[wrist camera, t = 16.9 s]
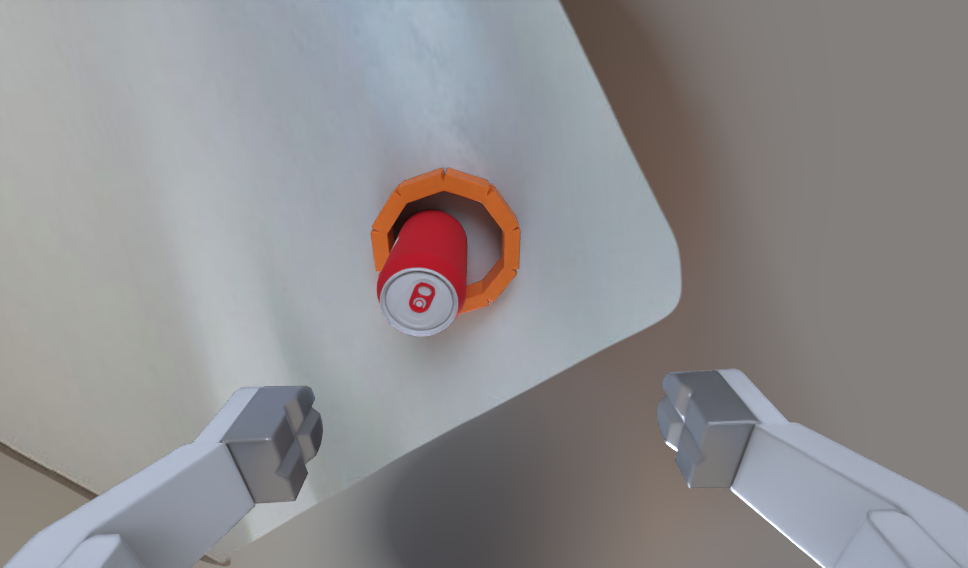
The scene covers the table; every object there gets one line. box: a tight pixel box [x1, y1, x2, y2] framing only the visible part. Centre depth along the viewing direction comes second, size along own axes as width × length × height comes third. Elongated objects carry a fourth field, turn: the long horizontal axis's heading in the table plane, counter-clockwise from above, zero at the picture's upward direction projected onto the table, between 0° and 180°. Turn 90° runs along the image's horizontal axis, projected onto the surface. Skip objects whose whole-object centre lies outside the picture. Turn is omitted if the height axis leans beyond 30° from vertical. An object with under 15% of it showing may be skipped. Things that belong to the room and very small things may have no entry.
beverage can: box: [377, 210, 467, 336], centre depth 31 cm, size 6×6×12 cm
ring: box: [371, 168, 520, 314], centre depth 35 cm, size 13×13×3 cm
